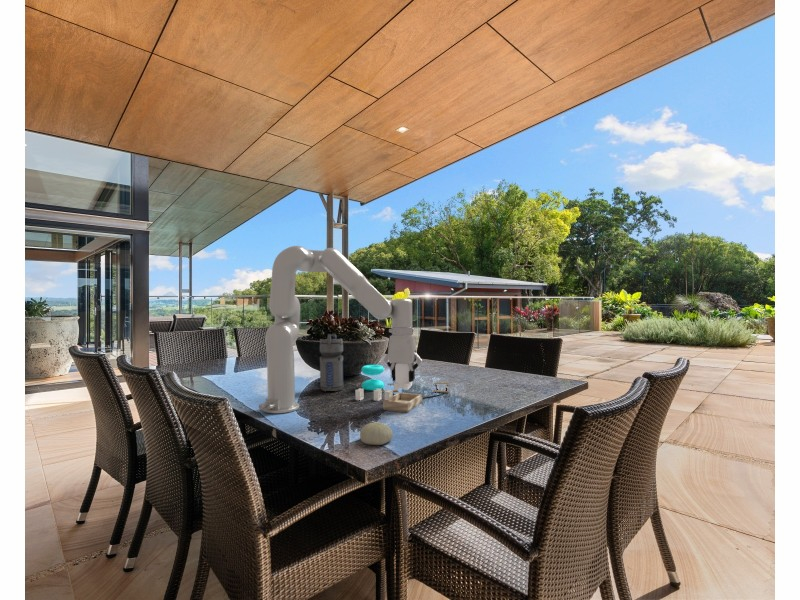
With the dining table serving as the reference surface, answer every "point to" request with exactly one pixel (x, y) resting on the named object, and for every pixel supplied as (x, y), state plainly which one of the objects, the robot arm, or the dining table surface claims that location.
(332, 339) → the beverage bottle
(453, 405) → the dining table surface
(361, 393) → the cable clips
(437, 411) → the dining table surface
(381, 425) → the sea urchin shell
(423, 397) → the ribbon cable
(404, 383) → the cable organizer
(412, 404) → the tan shallow tray
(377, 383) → the donuts
